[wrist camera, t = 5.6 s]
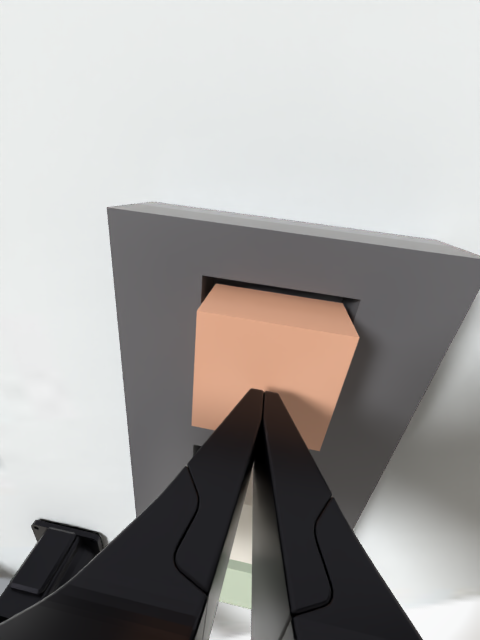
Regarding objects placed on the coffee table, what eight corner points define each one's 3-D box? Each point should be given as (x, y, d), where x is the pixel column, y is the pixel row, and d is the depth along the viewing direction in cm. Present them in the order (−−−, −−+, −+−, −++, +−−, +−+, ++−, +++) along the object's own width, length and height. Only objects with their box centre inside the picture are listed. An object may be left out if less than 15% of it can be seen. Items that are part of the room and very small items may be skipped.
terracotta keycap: (313, 401, 12) (319, 450, 10) (208, 382, 12) (191, 425, 10) (342, 303, 10) (359, 337, 8) (215, 283, 10) (196, 310, 8)
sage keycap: (259, 564, 21) (255, 610, 18) (198, 550, 21) (188, 593, 19) (268, 530, 19) (266, 577, 16) (201, 515, 19) (190, 559, 17)
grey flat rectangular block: (301, 562, 23) (304, 621, 20) (161, 529, 24) (142, 581, 21) (436, 239, 11) (494, 260, 8) (151, 201, 12) (106, 207, 9)
